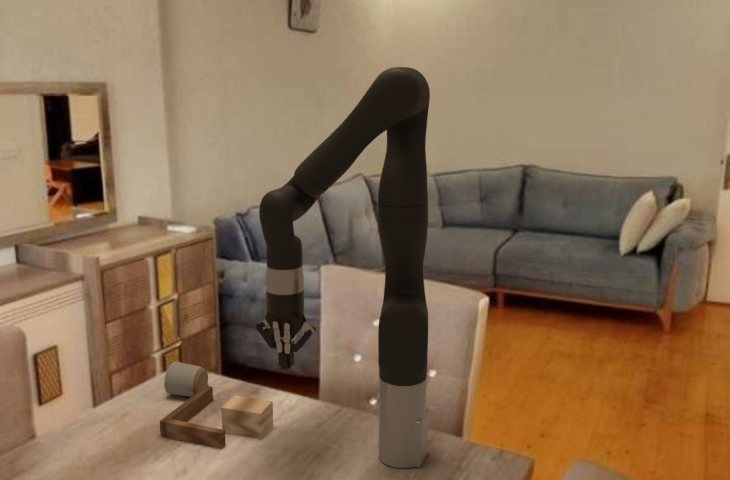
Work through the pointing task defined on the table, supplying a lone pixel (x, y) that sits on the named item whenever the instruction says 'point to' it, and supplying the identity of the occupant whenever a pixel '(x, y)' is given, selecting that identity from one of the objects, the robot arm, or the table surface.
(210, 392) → the corner fence
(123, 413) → the table surface
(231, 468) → the table surface
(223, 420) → the oak block
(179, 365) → the ceramic mug
